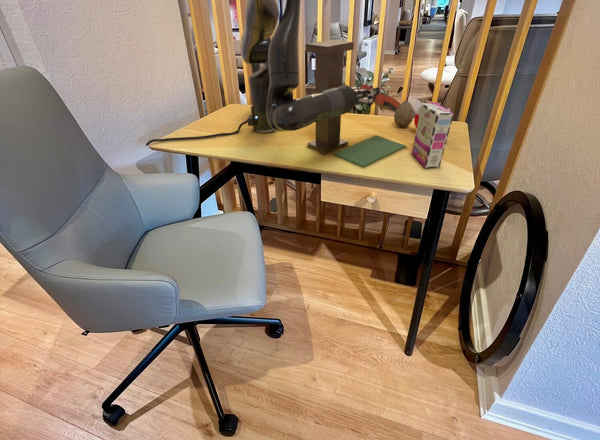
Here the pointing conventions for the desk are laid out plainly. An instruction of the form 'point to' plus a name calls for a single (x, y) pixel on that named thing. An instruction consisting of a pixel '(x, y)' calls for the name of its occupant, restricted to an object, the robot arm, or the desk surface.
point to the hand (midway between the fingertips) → (374, 90)
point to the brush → (384, 100)
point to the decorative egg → (404, 114)
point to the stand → (327, 77)
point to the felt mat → (369, 151)
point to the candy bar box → (431, 134)
